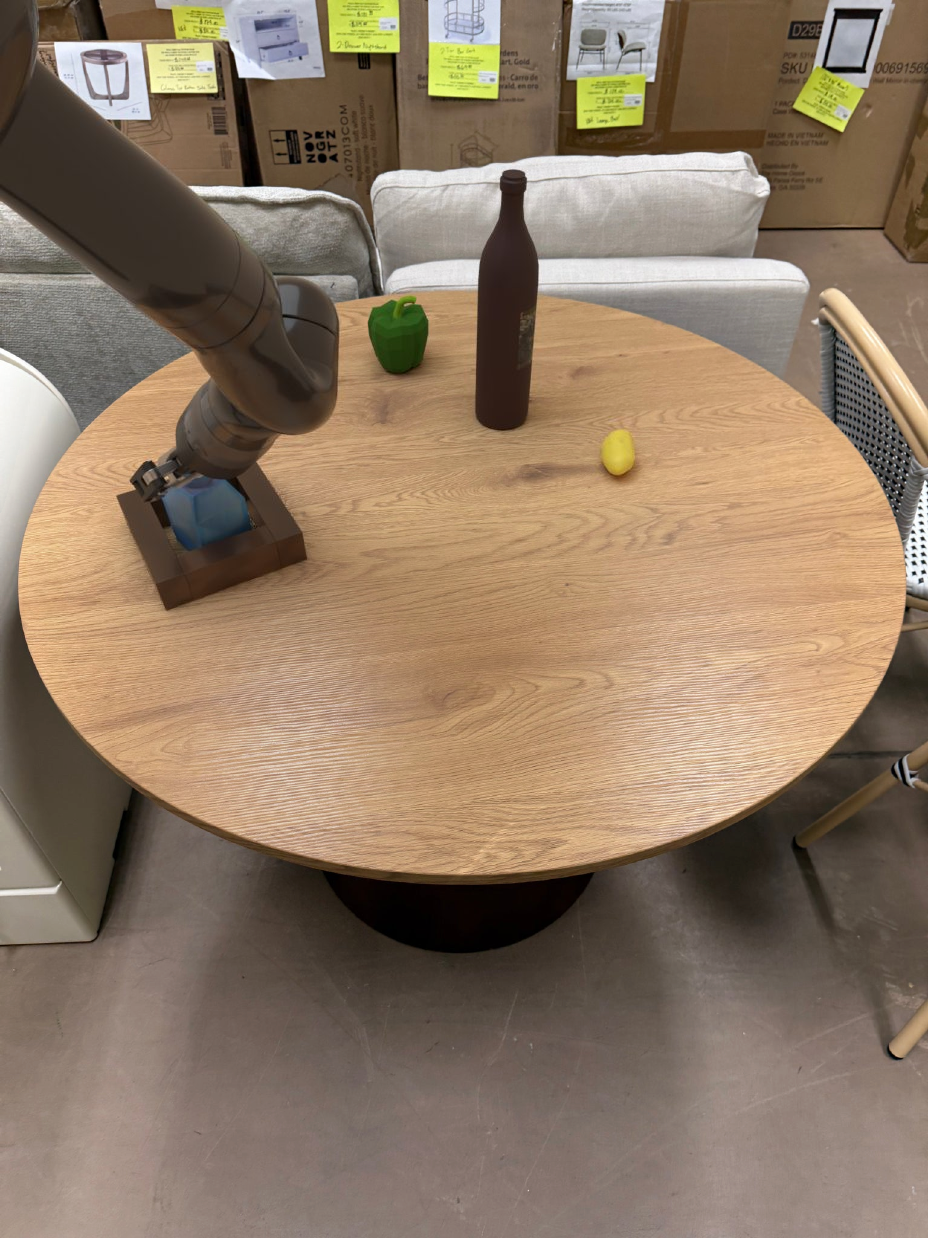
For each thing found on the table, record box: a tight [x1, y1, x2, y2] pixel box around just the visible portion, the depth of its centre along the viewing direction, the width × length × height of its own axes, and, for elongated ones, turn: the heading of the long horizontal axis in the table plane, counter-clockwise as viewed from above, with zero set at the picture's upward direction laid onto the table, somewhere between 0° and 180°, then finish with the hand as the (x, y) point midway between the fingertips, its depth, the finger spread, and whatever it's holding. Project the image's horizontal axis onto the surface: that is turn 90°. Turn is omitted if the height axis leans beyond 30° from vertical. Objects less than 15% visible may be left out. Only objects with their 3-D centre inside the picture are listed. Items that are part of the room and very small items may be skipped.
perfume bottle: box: [162, 474, 253, 552], centre depth 87 cm, size 6×6×12 cm
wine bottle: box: [474, 168, 540, 430], centre depth 97 cm, size 7×7×30 cm
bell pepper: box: [367, 295, 429, 374], centre depth 113 cm, size 8×8×10 cm
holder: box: [115, 461, 308, 611], centre depth 90 cm, size 16×16×4 cm
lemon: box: [600, 429, 636, 476], centre depth 100 cm, size 4×8×4 cm, turn 167°
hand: (189, 472), depth 86 cm, fingers open, 8 cm apart
